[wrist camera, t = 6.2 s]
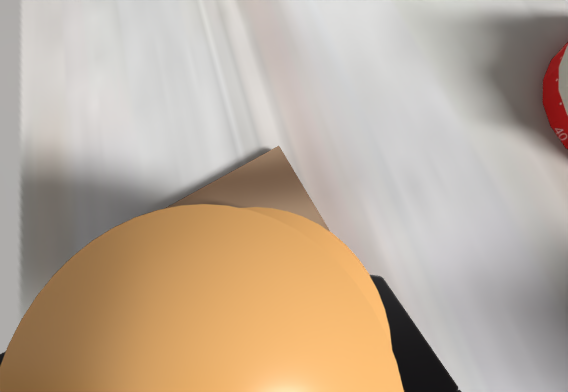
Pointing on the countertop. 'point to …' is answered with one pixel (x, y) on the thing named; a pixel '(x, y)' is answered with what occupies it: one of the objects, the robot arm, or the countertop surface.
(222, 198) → the peg board base
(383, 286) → the robot arm
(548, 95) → the kitchen timer
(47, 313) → the wooden peg doll
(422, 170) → the countertop surface
